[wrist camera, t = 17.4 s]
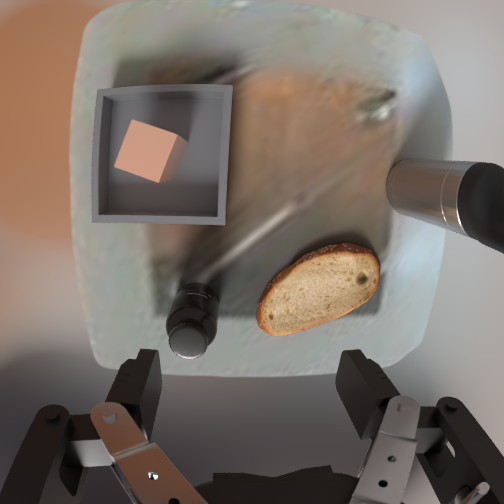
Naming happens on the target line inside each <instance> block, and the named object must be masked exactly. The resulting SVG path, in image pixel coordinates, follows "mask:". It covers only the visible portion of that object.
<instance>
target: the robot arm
mask: <svg viewBox="0 0 504 504" xmlns="http://www.w3.org/2000/svg"><path fill="white" fill-rule="evenodd" d="M386 191H387V196H388V199H389V202H390V203H391V205H392V207H393V208H394V209H395V210H396V211H397V212H399V213H401V214H403V215H406V216H409V217H413V218H415V219H418V220H421V221H424V222H427V223H430V224H433V225H436V226H439V227H442V228H445V229H448V230H451V231H454V232H456V233H460V234H462V235H465V236H468V237H471V238H473V239H476V240H478V241H479V242H481V243H482V244H484V245H486V246H488V247H491V248H493V249H495V250H497V251H499V252H502V253H504V168H502V167H501V166H499V165H497V164H493V163H484V162H469V161H448V160H420V159H406V160H402V161H400V162H398V163H397V164H395V165H394V166H393V168H392V169H391V171H390V172H389V175H388V178H387V183H386ZM336 389H337V392H338V394H339V396H340V398H341V400H342V402H343V404H344V406H345V408H346V410H347V412H348V414H349V417H350V418H351V421H352V423H353V425H354V427H355V429H356V431H357V433H358V435H359V437H360V439H361V440H363V439H367V438H371V440H372V442H371V444H370V447H369V449H368V452H367V454H366V456H365V458H364V461H363V463H362V466H361V467H360V470H359V472H358V474H357V476H356V477H353V476H350V475H347V474H342V473H334V472H333V471H332V469H331V466H330V465H327V466H321V467H313V468H306V469H301V470H298V471H295V472H292V473H288V474H285V475H281V476H278V477H267V476H259V475H253V474H247V473H213V481H207V482H204V483H200V484H198V485H195V486H193V487H192V486H191V485H190V484H189V482H188V481H187V480H186V479H185V478H184V477H183V476H182V475H181V474H180V472H179V471H178V470H177V469H176V468H175V466H174V465H173V464H172V463H171V462H170V461H169V459H168V458H167V457H166V456H165V454H164V453H163V452H162V451H161V449H160V448H159V447H158V446H157V445H156V443H154V442H150V440H151V436H152V431H153V426H154V422H155V417H156V413H157V408H158V404H159V399H160V395H161V390H162V377H161V368H160V359H159V352H158V350H152V349H140V351H139V354H138V356H137V358H136V359H128V360H127V361H126V362H124V363H123V364H122V365H121V367H120V369H119V371H118V374H117V375H116V378H115V381H114V382H113V384H112V387H111V389H110V392H109V394H108V396H107V398H106V401H105V403H101V404H99V405H97V406H95V407H94V408H93V410H92V411H91V413H90V414H84V415H70V414H69V412H68V410H67V409H66V408H65V407H63V406H61V405H47V406H45V407H43V408H41V409H40V410H39V411H38V412H37V414H36V416H35V418H34V420H33V422H32V424H31V426H30V428H29V430H28V432H27V434H26V436H25V438H24V440H23V442H22V444H21V447H20V449H19V451H18V453H17V455H16V457H15V459H14V462H13V464H12V466H11V468H10V471H9V473H8V476H7V478H6V480H5V483H4V485H3V488H2V490H1V493H0V504H80V502H81V498H82V494H83V489H84V485H85V481H86V477H87V473H88V469H89V466H105V465H110V466H111V468H112V469H113V471H114V473H115V475H116V476H117V478H118V480H119V481H120V483H121V484H122V486H123V488H124V489H125V491H126V492H127V494H128V495H129V497H130V498H131V500H132V501H133V503H134V504H404V503H403V502H401V500H402V497H403V494H404V491H405V487H406V484H407V481H408V477H409V474H410V470H411V466H412V462H413V458H414V454H416V456H417V458H418V460H419V462H420V464H421V466H422V468H423V470H424V472H425V474H426V475H427V477H428V479H429V481H430V483H431V485H432V487H433V489H434V491H435V493H436V495H437V497H438V499H439V501H440V503H441V504H504V457H503V456H502V454H501V453H500V451H499V450H498V448H497V447H496V446H495V444H494V443H493V442H492V440H491V439H490V438H489V436H488V435H487V434H486V432H485V431H484V430H483V429H482V427H481V426H480V425H479V423H478V422H477V421H476V419H475V418H474V417H473V416H472V414H471V413H470V412H469V410H468V409H467V408H466V407H465V405H464V404H463V403H462V402H461V401H460V400H458V399H456V398H453V397H443V398H441V399H439V401H438V402H437V404H436V406H435V407H421V406H420V405H419V403H418V402H417V401H416V400H415V399H413V398H411V397H408V396H403V395H400V393H399V392H398V391H397V389H396V388H395V386H394V385H393V384H392V382H391V381H390V379H389V378H388V377H387V375H386V374H385V373H384V372H383V370H382V368H381V367H380V366H379V364H377V363H376V362H374V361H373V360H371V359H367V358H366V357H365V355H364V354H363V353H362V351H361V350H360V349H357V350H344V351H343V352H342V354H341V358H340V363H339V367H338V371H337V375H336ZM448 441H449V442H450V444H451V445H452V447H453V448H454V451H455V457H454V456H453V455H452V453H451V452H450V450H449V448H448V447H447V445H446V443H447V442H448Z"/></svg>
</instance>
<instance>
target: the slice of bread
mask: <svg viewBox="0 0 504 504" xmlns="http://www.w3.org/2000/svg"><path fill="white" fill-rule="evenodd" d="M379 280H380V265H379V262H378V260H377V258H376V257H375V255H374V254H373V252H372V251H371V250H370V249H369V248H366V247H362V246H358V245H354V244H350V243H341V244H333V245H329V246H326V247H322V248H320V249H318V250H315V251H312V252H310V253H308V254H305V255H303V256H302V257H301V258H299V259H298V260H297V261H296V262H295V263H294V264H292V265H290V266H288V267H286V268H285V269H283V270H282V271H281V272H280V273H279V274H278V275H277V276H276V277H275V278H274V279H273V280H272V281H271V282H270V283H269V285H268V286H267V287H266V289H265V290H264V292H263V294H262V296H261V298H260V300H259V303H258V306H257V315H256V317H257V322H258V326H259V327H260V329H262V330H263V331H265V332H266V333H268V334H271V335H275V336H280V335H287V334H292V333H296V332H299V331H301V330H306V329H309V328H312V327H315V326H317V325H320V324H323V323H325V322H329V321H330V320H333V319H335V318H338V317H340V316H342V315H344V314H347V313H348V312H350V311H352V310H353V309H355V308H358V307H359V306H361V305H362V304H363V303H365V302H366V301H367V300H368V299H369V298H370V297H371V296H372V295H373V294H374V292H375V291H376V289H377V287H378V284H379Z"/></svg>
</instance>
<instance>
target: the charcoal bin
mask: <svg viewBox="0 0 504 504" xmlns="http://www.w3.org/2000/svg"><path fill="white" fill-rule="evenodd" d="M232 92H233V85H220V84H164V85H143V86H129V87H118V88H108V89H99V90H97V99H96V108H95V119H94V132H93V150H92V222H97V223H161V224H199V225H225V216H226V194H227V174H228V155H229V138H230V121H231V106H232ZM132 119H133V120H136V121H139V122H142V123H145V124H148V125H151V126H154V127H157V128H160V129H163V130H166V131H169V132H172V133H175V134H177V135H179V136H180V137H182V138H183V139H185V140H186V141H187V142H188V145H187V147H186V149H185V152H184V154H183V157H182V159H181V162H180V164H179V167H178V169H177V172H176V175H175V177H174V180H169V181H165V182H161V183H157V182H155V181H152V180H149V179H146V178H144V177H141V176H138V175H135V174H133V173H130V172H127V171H124V170H122V169H119V168H116V167H114V165H115V162H116V160H117V157H118V154H119V151H120V149H121V146H122V143H123V141H124V138H125V135H126V133H127V130H128V128H129V125H130V123H131V120H132Z"/></svg>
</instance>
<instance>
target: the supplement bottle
mask: <svg viewBox="0 0 504 504" xmlns="http://www.w3.org/2000/svg"><path fill="white" fill-rule="evenodd" d="M218 309H219V303H218V298H217V296H216V294H215V293H214V292H213V290H212V289H210V288H209V287H207V286H205V285H203V284H198V283H193V284H188V285H186V286H184V287H182V288H181V289H180V290H179V291H178V293H177V295H176V297H175V299H174V302H173V304H172V307H171V309H170V312H169V314H168V317H167V320H166V331H167V334H168V336H169V345H170V348H171V349H172V351H173V352H174V353H176V355H179V356H180V357H183V358H186V359H192V358H193V359H195V358H198V357H199V356H201V355H202V354H204V352H205V351H206V349H207V346H209V345H210V344H211V343H212V342H213V340H214V339H215V336H216V333H217V324H218Z"/></svg>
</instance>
